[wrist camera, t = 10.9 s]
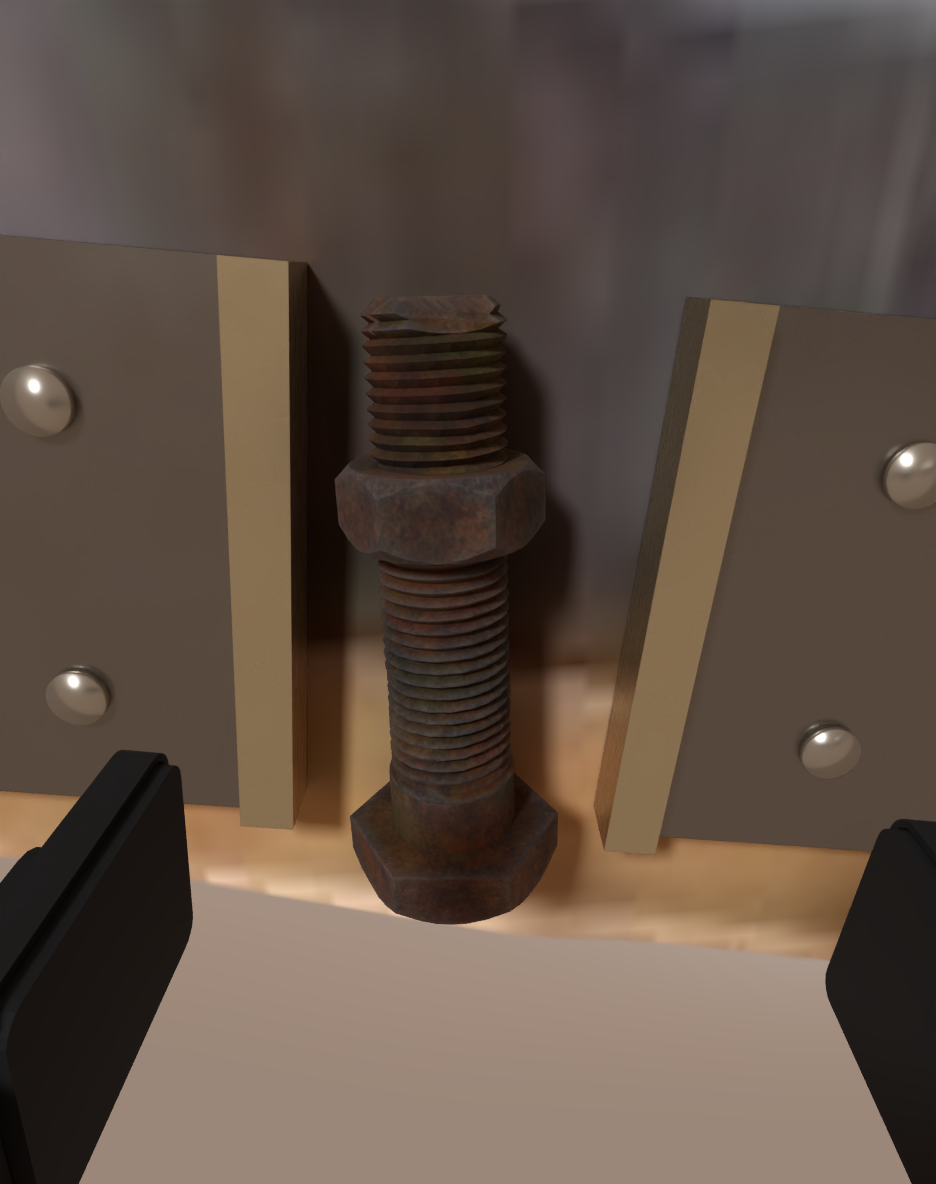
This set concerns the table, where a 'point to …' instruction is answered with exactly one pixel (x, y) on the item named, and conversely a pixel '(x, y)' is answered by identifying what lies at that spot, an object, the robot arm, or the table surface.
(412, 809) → the bolt
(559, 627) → the table surface
